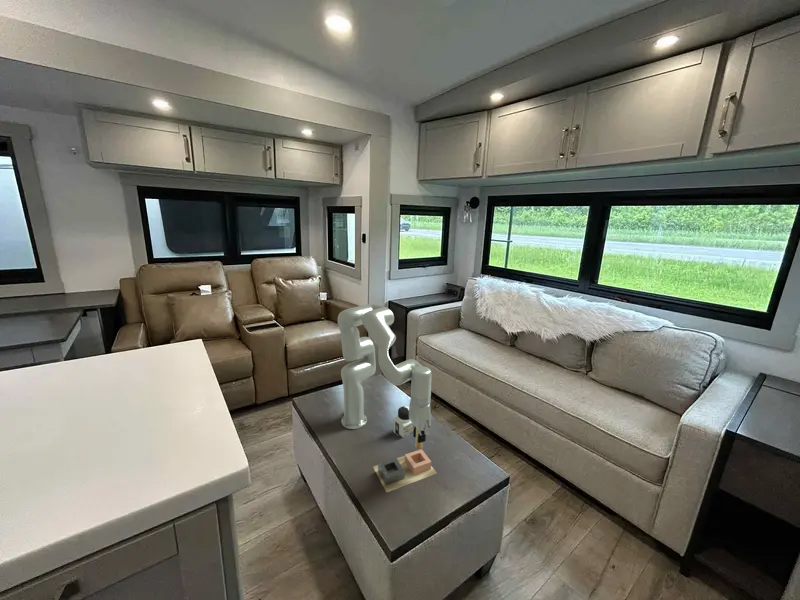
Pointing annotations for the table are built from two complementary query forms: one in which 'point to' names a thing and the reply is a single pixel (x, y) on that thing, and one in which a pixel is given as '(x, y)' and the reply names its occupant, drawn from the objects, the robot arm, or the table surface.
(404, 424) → the container
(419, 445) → the brass pin
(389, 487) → the oak board
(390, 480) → the mount collar
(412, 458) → the socket collar
